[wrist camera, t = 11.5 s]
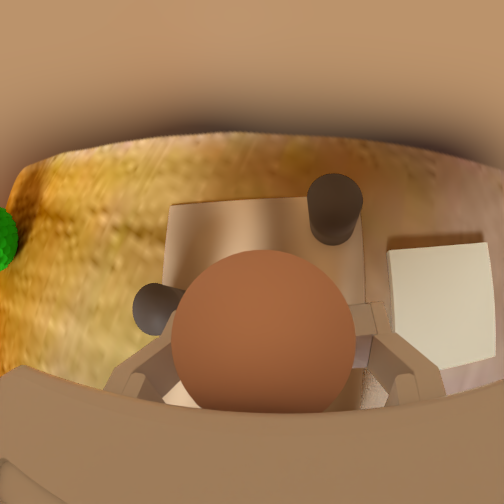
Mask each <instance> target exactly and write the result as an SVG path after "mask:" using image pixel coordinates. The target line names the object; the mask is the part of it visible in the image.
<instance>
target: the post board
mask: <svg viewBox="0 0 504 504" xmlns="http://www.w3.org/2000/svg"><path fill="white" fill-rule="evenodd" d="M362 204H363V197H362V193H361V190H360V188H359V187H358V185H357V184H356V183H355V182H354V181H353V180H352V179H350V178H349V177H347V176H344V175H341V174H326V175H323V176H321V177H319V178H318V179H316V180H315V181H314V182H313V183H312V185H311V186H310V188H309V190H308V194H307V197H288V198H267V199H250V200H234V201H220V202H207V203H195V204H184V205H174V206H170V210H169V218H168V226H167V235H166V245H165V255H164V266H163V279H162V284H158V283H151V284H147V285H145V286H144V287H142V288H141V289H140V290H139V291H138V293H137V294H136V296H135V299H134V302H133V317H134V320H135V322H136V324H137V326H138V327H139V328H140V329H141V330H142V331H143V332H144V333H146V334H149V335H155V336H156V335H159V338H160V336H161V334H162V332H163V330H164V328H165V326H166V324H167V322H168V320H169V318H170V316H171V314H172V312H173V311H175V310H177V307H178V305H179V303H180V301H181V298H182V297H183V295H184V293H185V292H186V290H187V289H188V287H189V286H190V285H191V283H192V282H193V281H194V280H195V279H196V278H197V277H198V276H199V275H200V274H201V273H202V272H203V271H204V270H206V269H207V268H208V267H210V266H211V265H212V264H214V263H216V262H218V261H219V260H221V259H223V258H226V257H228V256H230V255H233V254H237V253H240V252H244V251H251V250H274V251H281V252H285V253H289V254H292V255H295V256H297V257H300V258H302V259H304V260H306V261H308V262H310V263H311V264H313V265H315V266H316V267H317V268H319V269H320V270H321V271H323V272H324V273H325V274H326V275H327V276H328V277H329V278H330V279H331V280H332V281H333V282H334V283H335V285H336V286H337V287H338V289H339V290H340V291H341V293H342V295H343V296H344V298H345V300H346V302H347V304H348V305H349V304H360V303H365V274H364V252H363V236H362V222H361V209H362ZM362 381H363V368H352V369H351V372H350V375H349V378H348V380H347V382H346V384H345V386H344V388H343V389H342V391H341V392H340V394H339V395H338V396H337V398H336V399H335V400H334V401H333V402H332V403H331V404H330V406H329V407H328V408H327V409H325V410H324V411H323V412H322V413H325V412H341V411H353V410H360V404H361V394H362ZM162 399H163V400H164V401H165V402H166V404H171V405H178V406H185V407H193V408H201V407H199V406H198V405H197V404H196V403H195V401H194V400H193V399H192V398H191V397H190V395H189V394H188V392H187V391H186V389H185V388H184V386H183V385H182V382H181V380H180V381H179V382H178V383H177V384H176V385H175V386H174V387H173V388H172V389H171V390H170V391H169V392H168V393H167V394H166V395H165V396H164V397H163V398H162ZM201 409H202V408H201Z"/></svg>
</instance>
